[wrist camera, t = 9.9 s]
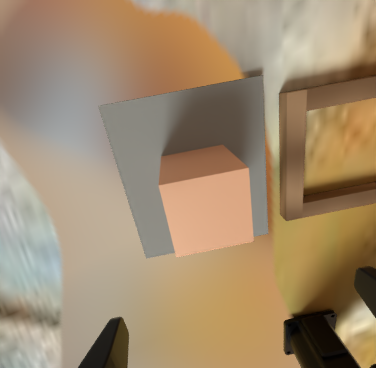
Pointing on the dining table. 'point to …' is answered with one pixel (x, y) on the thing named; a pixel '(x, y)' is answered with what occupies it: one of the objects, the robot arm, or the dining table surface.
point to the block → (206, 199)
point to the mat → (186, 146)
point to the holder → (295, 149)
